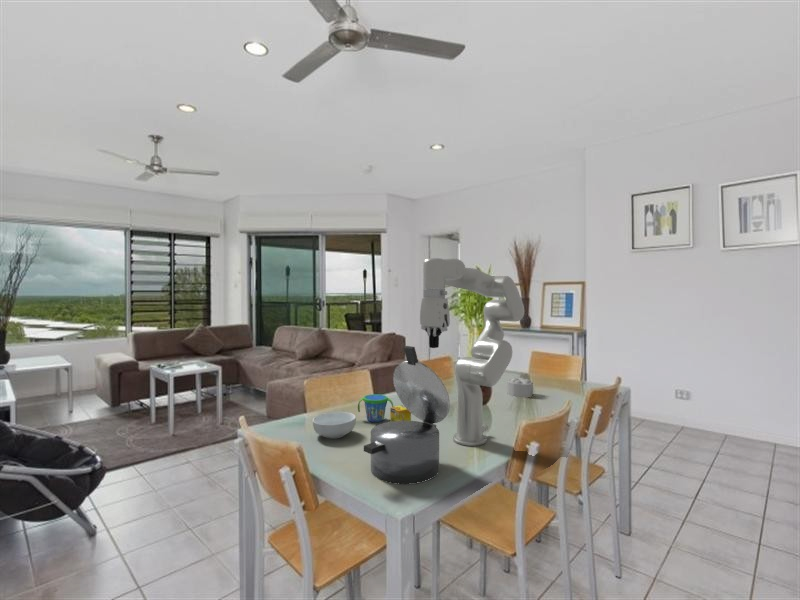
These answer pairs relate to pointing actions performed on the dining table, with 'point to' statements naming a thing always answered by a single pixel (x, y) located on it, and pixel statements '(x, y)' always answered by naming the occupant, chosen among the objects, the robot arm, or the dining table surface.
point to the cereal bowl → (334, 424)
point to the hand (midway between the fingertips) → (434, 347)
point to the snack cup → (375, 406)
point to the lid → (421, 389)
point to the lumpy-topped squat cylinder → (520, 387)
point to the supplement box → (400, 413)
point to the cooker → (404, 451)
